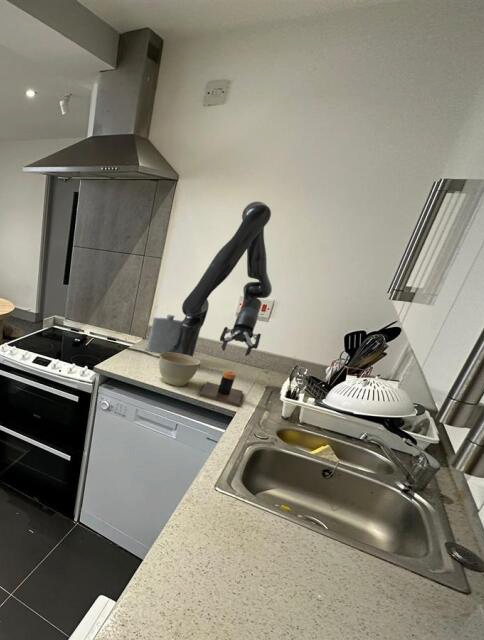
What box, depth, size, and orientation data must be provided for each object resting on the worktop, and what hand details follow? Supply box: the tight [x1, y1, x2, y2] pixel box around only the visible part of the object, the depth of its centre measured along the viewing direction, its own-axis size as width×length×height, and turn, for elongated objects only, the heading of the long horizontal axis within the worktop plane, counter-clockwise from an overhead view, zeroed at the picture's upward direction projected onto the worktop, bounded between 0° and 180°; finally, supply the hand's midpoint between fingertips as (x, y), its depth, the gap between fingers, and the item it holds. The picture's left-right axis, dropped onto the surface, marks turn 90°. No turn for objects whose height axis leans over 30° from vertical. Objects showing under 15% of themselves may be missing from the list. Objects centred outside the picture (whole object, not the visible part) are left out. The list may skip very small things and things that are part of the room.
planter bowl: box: [158, 352, 201, 387], centre depth 167 cm, size 16×16×11 cm
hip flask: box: [146, 314, 183, 354], centre depth 204 cm, size 16×4×20 cm, turn 79°
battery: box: [218, 370, 237, 395], centre depth 158 cm, size 4×4×9 cm
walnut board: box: [199, 381, 243, 407], centre depth 160 cm, size 14×16×1 cm
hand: (234, 352), depth 161 cm, fingers open, 8 cm apart
